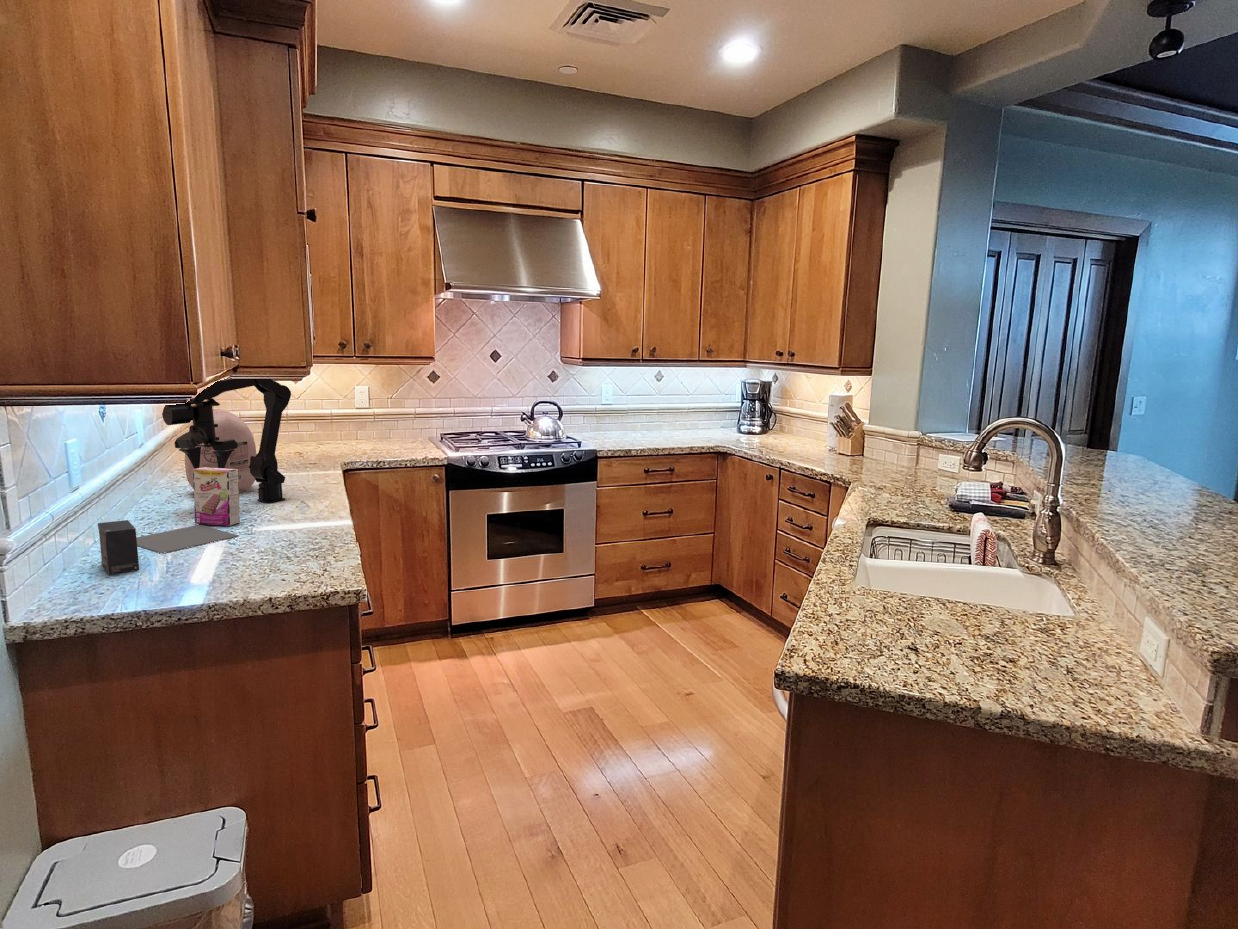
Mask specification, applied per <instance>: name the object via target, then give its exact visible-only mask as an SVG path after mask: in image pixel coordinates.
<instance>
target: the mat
mask: <svg viewBox="0 0 1238 929" xmlns="http://www.w3.org/2000/svg"><path fill="white" fill-rule="evenodd" d="M237 536H239V537H240V535H238V534H235V533H231V532H228V531H224V530H222V529H221V530H220V529H218V528H214V527H209V526H208V525H207V526H206V525H204V524H195V525H191V526H187V527H180V528H177V529H171V530H167V531H162V532H157V533H152V534H148V535H141V536H139V537H138V536H136V538H137V547H139V548H142V549H145V550H148V551H151V552H153V553H157V552H159V553H158V554H160V553H164V552H169V553H173V552H172V551H174V552H177V550H178V551H181V550H180V549H182V550H185V549H184V548H187V547H191V546H195V547H199V546H198V545H200V546H203V545H202V544H204V545H207V544H206V543H209V544H211V543H210V542H213V543H215V542H214V541H217V542H219V541H218V540H222V541H226V540H229V539H233V537H235V538H238V537H237ZM191 548H192V547H191ZM187 549H188V548H187Z"/></svg>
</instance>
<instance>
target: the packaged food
mask: <svg viewBox="0 0 1238 929" xmlns="http://www.w3.org/2000/svg"><path fill="white" fill-rule="evenodd" d="M213 416H214V424H218V427H215V433H216V437H219V440H223V439H234V440H235V441H236V442H237V447H238V448H236V449H235V450H234V451H232V453H231V454H230V456H229V458H228V460H227V463H226V465H225V468H224V469H238V478H239V491H240V492H244V491H246V490H249V489H250V488H251V487H252V486H253V485H254V483H255V482H256V480H255V478H254V477H253V476H252V475H251V473H250V468H248V467H249V465H250V458H251V456H256V455H257V454H258V452H257V445H256V442H255V438H254V436H253V433H252V431H251V428H249V426H248V425H247V423H246V422H245V421H244V420H243V419H241V417H239V416H238V415H236V414H234V413H232V412H230V411H228V410H224V409H219V408H218V409H213ZM191 425H193V421H192V422H191V424H190V426H191ZM217 441H218V440H217ZM202 444H204V443H202ZM197 447H201V446H197ZM213 451H215V450H214V449H213V448H212V447H201V455H200V467H199V468H204V467H206V468H218V464H217V457H216V455H215V454H214V453H213ZM184 469H185V470H184V471H185V474H186V475H185V476H186V479H187V482H188V484H189V486H190V487H191V488H192V489H193V490H194V480H193V469H194V467H193V465H192V463H191V461H190V460H189V458H188V456H187V455H186V454H185V453H184Z"/></svg>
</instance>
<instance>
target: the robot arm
mask: <svg viewBox="0 0 1238 929" xmlns="http://www.w3.org/2000/svg"><path fill="white" fill-rule="evenodd" d="M229 378H230V377H229ZM223 379H224V380H220V379H219V380H220V381H217V382H215V383H214V384H213V385H211V386H210V387H207V388H206V389H204V390H203V391H202V392H201V393H199V394H198V395H197V396H196V397H195V398H192V399H190V401H188V402H187V403H185V404H176V405H165V404H164V407H163V409H162V413H161V415H162V416H161V417H162V419H163V422H164V423H165V424H166V425H167V426H174V425H183V424H190V423H192V422H193V425H191V424H190V425H189V427H188V431H187V432H185V433H183V434H182V435H180V436H179V437H177V438H176V439H175V440H174V448H175V449H178V451H179V452H182V453H184V455H185V454H186V455H187V456H188V458H189V460H190V461H191V463H192V465H193V467H194V469H197V468H199V467H200V455H201V447H212V448H213V449H214V450H215V451H213V453H214V454H215V455H216V457H217V464H218V468H225V465H226V463H227V460H228V458H229V456H230V454H231V453H232V451H234V450H235V449H236V448H238V447H237V442H236V441H235V440H234V439H223V440H219V437H216V433H215V427H218V424H214V416H213V410H214V408H213V407H218V406H220V405H221V404H220V403H219V401H217V400H215V398H216V397H218V396H220V395H221V394H223V393H226V392H230V391H235V390H240V389H245V388H251V387H255V389H256V390H257V391H258V392H260V393H261V394H263V403H264V406H265V416H264V419H263V420H264V421H263V427H262V433H261V437H260V442H259V443H260V444H259V448H258V449H259V450H258V452H257V455H256V456H251V458H250V465H249V467H248V468H250V473H251V475H252V476H253V477H254V478H255V482H256V483H258V488H257V494H258V498H257V499H256V500H258V501H257V502H262V503H267V504H270V503H274V502H280V501H281V502H282V501H286V498H285V497H283V485H282V484H284V483H285V480H286V476H285V475H283V474H282V473H281V472H280V471H279V470H278V465H279V464H278V460H277V457H276V450H277V443H278V438H279V432H280V427H281V422H282V417H283V416H282V415H283V412H284V411H285V409H286V408H287V407H288V405H289V403H290V399H291V396H292V391H291V390H290V388H289V387H288V386H286V385H285V384H284V385H283V384H281V383H279V382H278V381H275V380H273V379H271V378H270V379H232V378H230V379H225V378H223ZM191 421H192V422H191ZM217 440H218V441H217ZM202 443H204V444H202ZM197 446H201V447H197Z"/></svg>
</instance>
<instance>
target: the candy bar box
mask: <svg viewBox="0 0 1238 929" xmlns="http://www.w3.org/2000/svg"><path fill="white" fill-rule="evenodd" d="M193 480H194V489H193V500H194V502H193V503H194V504H193V506H194V524H195V525H204V526H206V525H207V526H209V525H210V526H222V527H223V526H226V527H227V526H228V527H230V526H235V525H237V523H238V524H240V523H241V521H240V518H241V517H240V492H239V478H238V469H224V468H206V467H204V468H197V469H193ZM239 522H240V523H239Z"/></svg>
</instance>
